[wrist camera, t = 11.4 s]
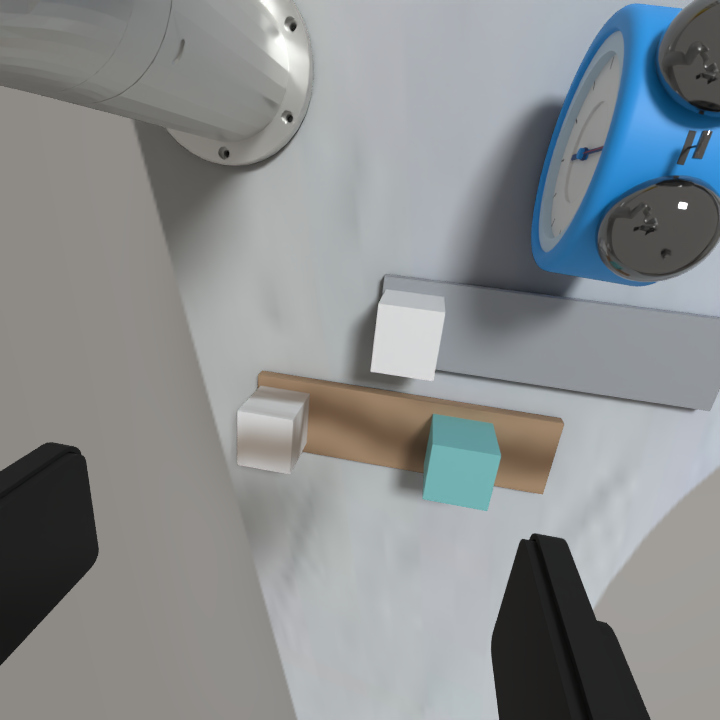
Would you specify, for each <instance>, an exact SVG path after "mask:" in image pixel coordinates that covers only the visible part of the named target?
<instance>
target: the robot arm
mask: <svg viewBox="0 0 720 720" xmlns="http://www.w3.org/2000/svg"><path fill="white" fill-rule="evenodd" d="M293 25H297V27H296V29H295V30H294V31H293V32H292V31H291V28H292V26H293ZM313 80H314V63H313V53H312V47H311V42H310V37H309V34H308V31H307V28H306V26H305V23H304V20H303V18H302V16H301V14H300V12H299V10H298V9H297V7H296V5H295V3H294V2H293V0H0V86H4V87H9V88H14V89H18V90H22V91H26V92H31V93H34V94H38V95H42V96H46V97H50V98H54V99H58V100H61V101H66V102H69V103H73V104H77V105H81V106H85V107H89V108H93V109H96V110H100V111H104V112H108V113H112V114H116V115H120V116H124V117H127V118H131V119H135V120H139V121H143V122H147V123H151V124H155V125H158V126H162V127H165V129H166V130H167V131H168V132H169V134H170V135H171V136H172V137H173V138H174V139H175V140H176V141H177V142H178V143H179V144H180V145H182V146H183V147H184V148H185V149H187V150H188V151H189V152H191V153H192V154H194V155H196V156H198V157H200V158H202V159H204V160H206V161H210V162H214V163H218V164H222V165H230V166H239V165H249V164H253V163H256V162H260V161H263V160H264V159H266V158H268V157H270V156H272V155H274V154H275V153H277V152H278V151H279V150H280V149H281V148H282V147H284V146H285V145H286V144H287V143H288V142H289V140H290V139H291V138H292V137H293V135H294V134H295V133H296V131H297V130H298V128H299V126H300V124H301V123H302V121H303V119H304V117H305V115H306V112H307V109H308V105H309V102H310V99H311V95H312V87H313ZM291 115H292V116H293V121H292V122H291V123H289V122H288V117H289V116H291ZM227 151H229V153H230V154H229V157H227V155H226V153H227ZM98 550H99V548H98V541H97V534H96V527H95V520H94V513H93V506H92V500H91V493H90V485H89V478H88V471H87V465H86V460H85V457H84V456H82V455H81V452H80V450H79V449H78V448H76V447H74V446H69V445H63V444H58V443H53V442H52V443H46V444H43V445H41V446H40V447H38V448H37V449H35V450H33V451H32V452H31V453H29V454H28V455H26V456H24V457H22V458H21V459H19V460H18V461H16V462H15V463H13V464H11V465H10V466H8V467H7V468H5V469H3V470H2V471H0V665H1V664H2V663H3V662H4V661H5V660H6V659H7V658H8V657H9V656H10V655H11V653H12V652H13V651H14V650H15V649H16V648H17V647H18V646H19V645H20V644H21V643H22V642H23V641H24V640H25V638H26V637H27V636H28V635H29V634H30V633H31V632H32V631H33V629H35V628H36V627H37V625H38V624H39V623H40V622H41V621H42V620H43V619H44V618H45V617H46V616H47V615H48V613H50V611H51V610H52V609H53V608H54V607H55V606H56V605H57V604H58V603H59V602H60V601H61V600H62V599H63V597H64V596H65V595H66V594H67V593H68V592H69V591H70V590H71V589H72V588H73V587H74V585H76V583H77V582H78V581H79V580H80V579H81V578H82V577H83V576H84V575H85V574H86V573H87V572H88V571H89V569H90V568H91V567H92V566H93V564H94V563H95V561H96V559H97V556H98ZM491 656H492V664H493V673H494V681H495V689H496V697H497V705H498V713H499V720H650V717H649V715H648V712H647V710H646V707H645V705H644V703H643V700H642V698H641V695H640V693H639V690H638V688H637V685H636V683H635V681H634V678H633V676H632V673H631V671H630V668H629V666H628V664H627V661H626V659H625V656H624V654H623V652H622V649H621V647H620V644H619V642H618V640H617V637H616V635H615V633H614V632H613V630H612V628H611V627H610V626H609V625H608V624H607V623H604V622H601V621H597V620H596V618H595V615H594V612H593V610H592V607H591V604H590V602H589V599H588V597H587V594H586V591H585V589H584V586H583V584H582V581H581V578H580V576H579V573H578V570H577V568H576V565H575V563H574V560H573V557H572V555H571V552H570V549H569V547H568V544H567V542H566V541H565V540H564V539H562V538H557V537H551V536H546V535H541V534H535V533H534V534H532V535H531V537H530V539H529V540H525V539H522V540H521V541H520V543H519V546H518V550H517V553H516V556H515V560H514V563H513V566H512V570H511V573H510V577H509V580H508V583H507V587H506V590H505V594H504V597H503V600H502V604H501V607H500V610H499V614H498V617H497V621H496V624H495V627H494V631H493V635H492V641H491Z"/></svg>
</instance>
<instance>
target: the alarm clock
mask: <svg viewBox="0 0 720 720" xmlns="http://www.w3.org/2000/svg"><path fill="white" fill-rule="evenodd" d="M719 242H720V0H694V1H693V2H691V3H690V4H689V5H687V6H686V7H685V8H684V9H681V8H672V7H663V6H655V5H646V4H630V5H627V6H625V7H624V8H622V9H620V10H619V11H617V12H616V13H615V14H614V15H613V16H612V17H611V18H610V19H609V20H608V21H607V22H606V24H605V25H604V26H603V27H602V29H601V30H600V31H599V33H598V34H597V36H596V37H595V39H594V41H593V42H592V44H591V46H590V48H589V49H588V51H587V53H586V55H585V57H584V59H583V61H582V63H581V65H580V67H579V69H578V71H577V73H576V75H575V78H574V80H573V82H572V84H571V87H570V89H569V91H568V94H567V96H566V99H565V101H564V104H563V107H562V109H561V112H560V115H559V117H558V120H557V123H556V126H555V129H554V132H553V135H552V138H551V141H550V144H549V148H548V151H547V154H546V158H545V161H544V165H543V169H542V173H541V177H540V181H539V185H538V190H537V195H536V200H535V206H534V212H533V219H532V230H531V246H532V253H533V257H534V260H535V262H536V264H537V265H538V266H539V267H540V268H541V269H543V270H545V271H549V272H554V273H560V274H566V275H572V276H578V277H583V278H589V279H595V280H601V281H606V282H612V283H618V284H624V285H629V286H647V285H650V284H653V283H656V282H658V281H663V280H668V279H671V278H674V277H677V276H679V275H682V274H684V273H686V272H688V271H690V270H691V269H693V268H695V267H696V266H697V265H699V264H700V263H701V262H703V261H704V260H705V259H706V258H707V257H708V256H709V255H710V253H711V252H712V251H713V250H714V249H715V248H716V246H717V245H718V243H719Z"/></svg>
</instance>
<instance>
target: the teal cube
mask: <svg viewBox="0 0 720 720" xmlns="http://www.w3.org/2000/svg"><path fill="white" fill-rule="evenodd" d="M500 459H501V453H500V449H499V445H498V441H497V437H496V434H495V430H494V426H493V423H487V422H481V421H475V420H469V419H463V418H456V417H450V416H444V415H438V414H433V416H432V422H431V427H430V433H429V439H428V444H427V450H426V455H425V461H424V475H423V499H425V500H430V501H436V502H441V503H446V504H452V505H457V506H463V507H468V508H473V509H479V510H484V511H487V510H488V506H489V502H490V498H491V494H492V490H493V486H494V482H495V479H496V475H497V471H498V467H499V463H500Z"/></svg>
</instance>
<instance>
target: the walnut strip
mask: <svg viewBox="0 0 720 720" xmlns="http://www.w3.org/2000/svg"><path fill="white" fill-rule="evenodd" d="M433 414H438V415H444V416H450V417H456V418H463V419H469V420H475V421H481V422H487V423H493V426H494V430H495V434H496V437H497V441H498V445H499V449H500V453H501V459H500V463H499V467H498V471H497V475H496V479H495V482H494V486H498V487H504V488H510V489H515V490H521V491H526V492H532V493H538V494H543V492H544V489H545V485H546V482H547V479H548V476H549V472H550V469H551V466H552V462H553V459H554V456H555V453H556V449H557V446H558V443H559V439H560V436H561V433H562V430H563V426H564V423H563V421H562V419H561V418H557V417H550V416H544V415H538V414H531V413H525V412H519V411H513V410H506V409H500V408H494V407H488V406H481V405H475V404H469V403H462V402H456V401H450V400H444V399H437V398H431V397H425V396H418V395H412V394H406V393H400V392H393V391H387V390H381V389H375V388H368V387H362V386H356V385H349V384H343V383H337V382H331V381H324V380H318V379H312V378H305V377H299V376H293V375H287V374H280V373H274V372H268V371H261V372H260V373H259V374H258V389H257V390H256V391H255V392H254V393H253V394H252V395H251V397H250V398H249V399H248V400H247V401H246V402H245V403H244V404H243V405H242V406H241V407H240V408H239V410H238V411H237V465H241V466H247V467H252V468H257V469H263V470H268V471H274V472H279V473H284V474H291V472H292V470H293V468H294V466H295V464H296V462H297V460H298V458H299V457H300V455H301V453H302V451H303V452H308V453H314V454H319V455H325V456H331V457H336V458H342V459H347V460H353V461H359V462H364V463H370V464H375V465H381V466H387V467H392V468H398V469H403V470H409V471H415V472H420V473H424V461H425V455H426V450H427V444H428V439H429V433H430V427H431V422H432V416H433Z"/></svg>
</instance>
